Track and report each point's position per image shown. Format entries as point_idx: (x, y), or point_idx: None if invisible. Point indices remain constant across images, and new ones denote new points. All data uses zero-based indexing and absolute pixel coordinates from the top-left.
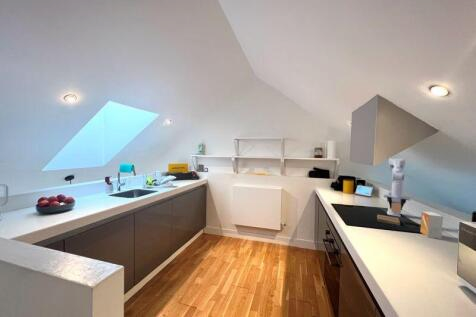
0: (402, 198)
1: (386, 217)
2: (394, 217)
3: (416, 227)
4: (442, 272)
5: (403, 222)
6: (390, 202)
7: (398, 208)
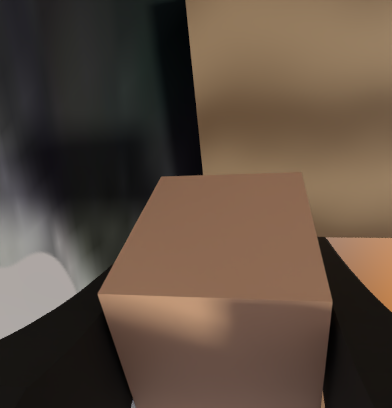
0: None
1: (343, 155)
2: None
3: (39, 68)
4: None
5: None
6: (375, 330)
7: (181, 217)
